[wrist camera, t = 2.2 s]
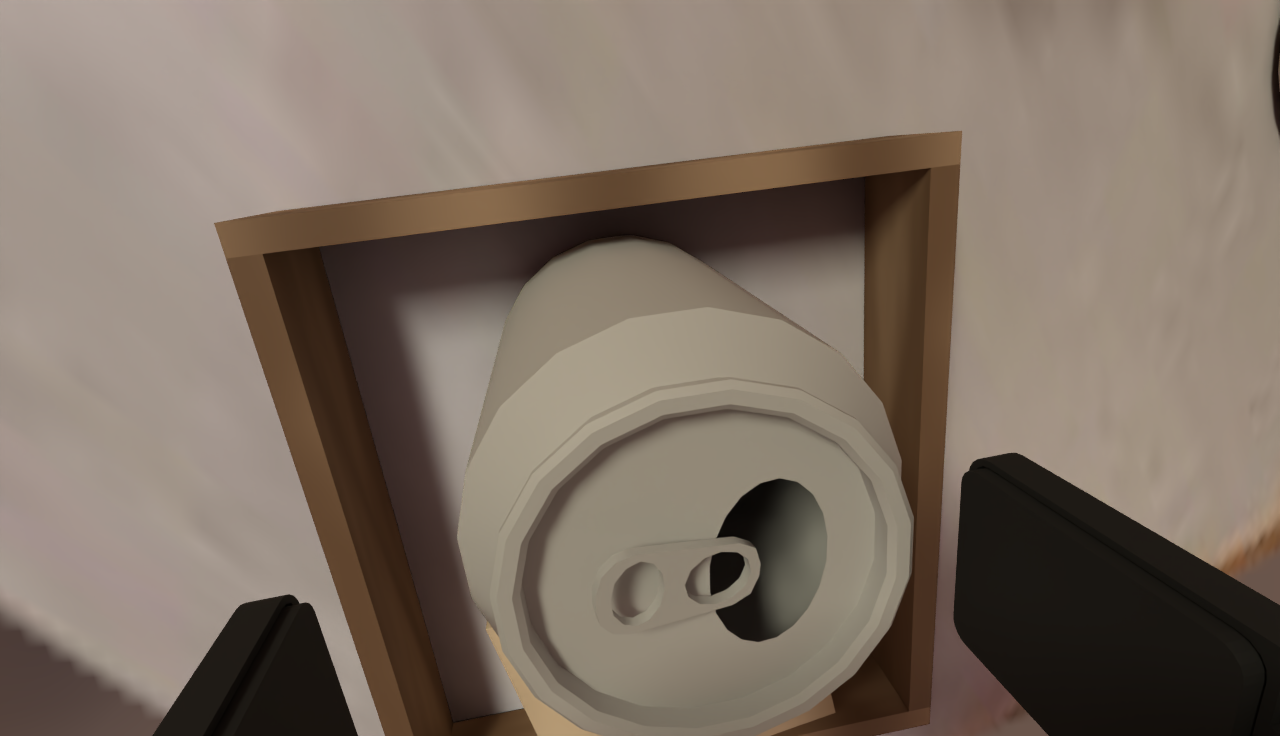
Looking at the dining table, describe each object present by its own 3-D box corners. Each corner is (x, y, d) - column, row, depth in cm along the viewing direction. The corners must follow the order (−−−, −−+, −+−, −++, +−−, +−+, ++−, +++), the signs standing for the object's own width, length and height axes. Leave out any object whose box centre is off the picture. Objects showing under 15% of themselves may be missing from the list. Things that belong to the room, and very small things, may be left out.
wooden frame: (890, 136, 19) (961, 130, 16) (880, 651, 26) (929, 723, 22) (277, 211, 17) (214, 223, 14) (436, 742, 24) (418, 835, 21)
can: (724, 453, 22) (915, 770, 10) (505, 458, 21) (452, 818, 9) (745, 234, 19) (1020, 339, 8) (498, 227, 18) (419, 336, 7)
